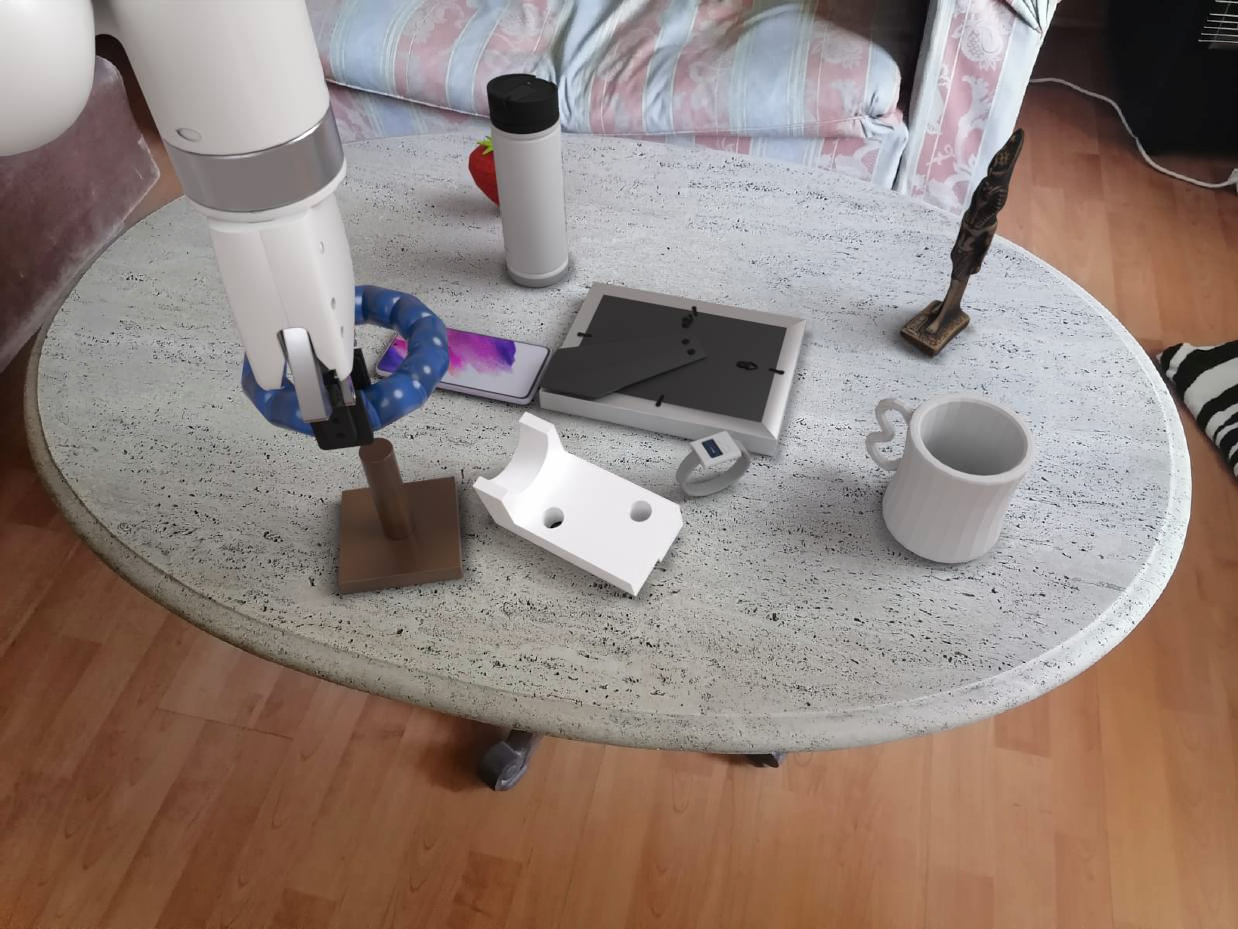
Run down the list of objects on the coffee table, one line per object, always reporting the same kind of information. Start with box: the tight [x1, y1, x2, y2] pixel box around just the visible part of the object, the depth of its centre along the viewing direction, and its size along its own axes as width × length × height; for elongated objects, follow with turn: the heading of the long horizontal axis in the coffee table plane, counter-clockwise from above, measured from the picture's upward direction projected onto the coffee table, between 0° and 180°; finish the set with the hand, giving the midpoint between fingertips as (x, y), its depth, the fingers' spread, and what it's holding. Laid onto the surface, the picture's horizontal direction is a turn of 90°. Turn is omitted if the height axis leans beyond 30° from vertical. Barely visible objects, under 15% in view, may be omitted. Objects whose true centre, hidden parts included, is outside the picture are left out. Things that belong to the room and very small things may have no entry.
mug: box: [864, 392, 1038, 564], centre depth 72 cm, size 12×9×10 cm
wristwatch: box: [675, 431, 752, 497], centre depth 76 cm, size 6×3×5 cm, turn 114°
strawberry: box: [467, 135, 500, 209], centre depth 100 cm, size 6×8×10 cm
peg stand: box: [337, 436, 464, 595], centre depth 70 cm, size 9×9×10 cm
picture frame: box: [538, 281, 808, 457], centre depth 86 cm, size 16×3×21 cm
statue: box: [899, 127, 1026, 357], centre depth 82 cm, size 4×7×20 cm, turn 137°
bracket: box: [472, 411, 684, 597], centre depth 72 cm, size 13×7×8 cm, turn 58°
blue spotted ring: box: [240, 284, 450, 438], centre depth 60 cm, size 13×13×3 cm
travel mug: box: [485, 72, 570, 288], centre depth 89 cm, size 6×7×20 cm
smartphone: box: [375, 326, 553, 405], centre depth 87 cm, size 7×1×15 cm
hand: (347, 420), depth 58 cm, fingers closed on blue spotted ring, 2 cm apart
